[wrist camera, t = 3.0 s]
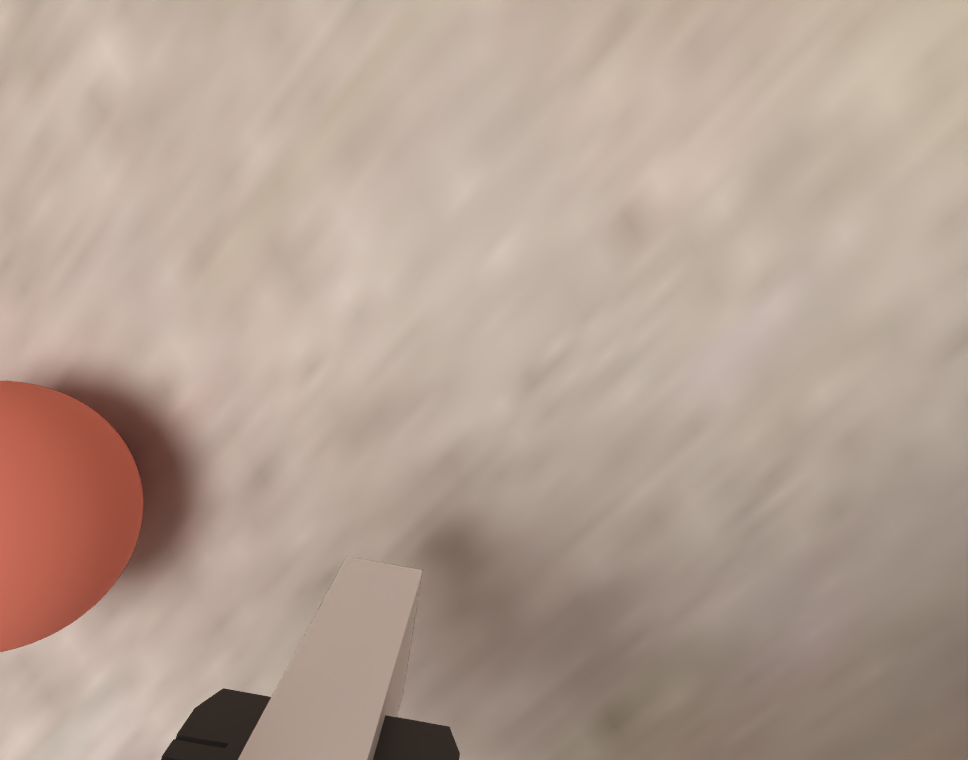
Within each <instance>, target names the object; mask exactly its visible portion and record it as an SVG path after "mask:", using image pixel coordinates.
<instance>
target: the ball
mask: <svg viewBox="0 0 968 760" xmlns="http://www.w3.org/2000/svg"><path fill="white" fill-rule="evenodd" d="M142 515H143V491H142V483H141V479H140V476H139V472H138V469H137V466H136V464H135V461H134V459H133V456H132V454H131V452H130V451H129V449H128V447H127V445H126V444H125V442H124V441H123V439H122V438H121V437H120V435H119V434H118V433H117V432H116V430H115V429H114V428H113V427H112V426H111V425H110V424H109V423H108V422H107V421H106V420H105V419H104V418H103V417H102V416H100V415H99V414H98V413H97V412H96V411H94V410H93V409H91V408H90V407H88V406H87V405H85V404H84V403H82V402H80V401H78V400H76V399H74V398H72V397H70V396H68V395H66V394H63V393H60V392H58V391H55V390H53V389H50V388H46V387H42V386H38V385H33V384H28V383H22V382H13V381H0V652H4V651H7V650H11V649H15V648H19V647H22V646H25V645H28V644H31V643H34V642H36V641H38V640H41V639H43V638H46V637H48V636H50V635H52V634H54V633H56V632H58V631H59V630H61V629H63V628H64V627H66V626H68V625H69V624H71V623H72V622H74V621H75V620H77V619H78V618H79V617H81V616H82V615H84V614H85V613H86V612H87V611H88V610H90V609H91V608H92V607H93V606H94V605H95V604H96V603H97V602H98V601H99V600H100V599H101V598H102V597H103V596H104V595H105V594H106V593H107V592H108V591H109V590H110V589H111V587H112V586H113V585H114V584H115V582H116V581H117V579H118V578H119V576H120V575H121V573H122V572H123V570H124V569H125V567H126V566H127V564H128V562H129V560H130V557H131V555H132V553H133V551H134V548H135V546H136V543H137V540H138V537H139V533H140V530H141V523H142Z"/></svg>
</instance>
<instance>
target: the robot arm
mask: <svg viewBox="0 0 968 760" xmlns="http://www.w3.org/2000/svg"><path fill="white" fill-rule="evenodd" d="M422 571H423V570H420V569H414V568H408V567H403V566H397V565H391V564H386V563H380V562H374V561H369V560H363V559H357V558H352V557H346V559H345V561H344V562H343V564H342V566H341V568H340V570H339V572H338V574H337V576H336V577H335V579H334V581H333V583H332V585H331V587H330V589H329V590H328V592H327V594H326V596H325V598H324V600H323V602H322V604H321V605H320V607H319V609H318V611H317V613H316V615H315V617H314V618H313V620H312V622H311V624H310V626H309V628H308V630H307V632H306V633H305V635H304V637H303V639H302V641H301V643H300V645H299V646H298V648H297V650H296V652H295V654H294V656H293V658H292V660H291V661H290V663H289V665H288V667H287V669H286V671H285V673H284V674H283V676H282V678H281V680H280V682H279V684H278V686H277V687H276V689H275V691H274V693H273V695H272V697H268V696H262V695H257V694H251V693H245V692H240V691H234V690H229V689H222V690H220V691H219V692H217V693H216V694H215V695H213V696H212V697H210V698H209V699H207V700H206V701H204V702H203V703H202V704H200V705H199V706H197V707H196V708H195V709H194V710H193V712H192V713H191V715H190V716H189V718H188V719H187V720H186V722H185V723H184V725H183V726H182V728H181V729H180V731H179V732H178V734H177V737H176V739H173V741H172V742H171V744H170V745H169V747H168V748H167V750H166V751H165V753H164V754H163V756H162V759H161V760H459V755H460V753H459V750H458V748H457V745H456V743H455V740H454V738H453V735H452V733H451V730H450V727H448V726H442V725H437V724H431V723H426V722H420V721H414V720H409V719H403V718H398V717H397V715H398V711H399V707H400V703H401V699H402V696H403V691H404V685H405V678H406V672H407V666H408V659H409V653H410V647H411V640H412V634H413V628H414V621H415V615H416V609H417V602H418V596H419V590H420V583H421V577H422Z"/></svg>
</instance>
